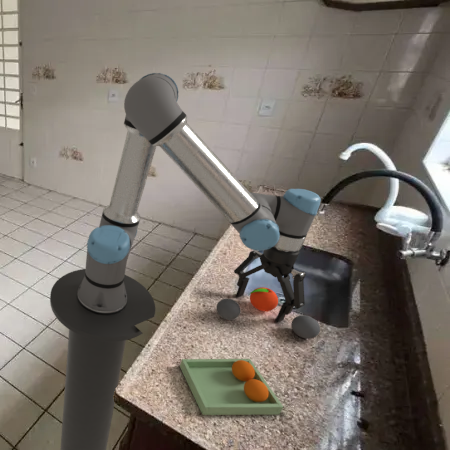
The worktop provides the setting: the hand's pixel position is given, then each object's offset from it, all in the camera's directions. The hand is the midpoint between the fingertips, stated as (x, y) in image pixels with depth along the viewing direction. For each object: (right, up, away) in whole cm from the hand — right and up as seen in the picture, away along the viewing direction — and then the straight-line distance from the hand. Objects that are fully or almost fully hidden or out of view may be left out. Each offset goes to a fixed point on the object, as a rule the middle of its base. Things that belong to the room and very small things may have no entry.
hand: (258, 307), depth 104 cm
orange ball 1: (-19, -9, -23) cm, 31 cm away
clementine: (0, 0, 0) cm, 0 cm away
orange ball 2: (-19, -12, -27) cm, 35 cm away
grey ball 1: (-12, +1, -5) cm, 13 cm away
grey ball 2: (+5, -3, -11) cm, 12 cm away
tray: (-23, -13, -24) cm, 36 cm away
